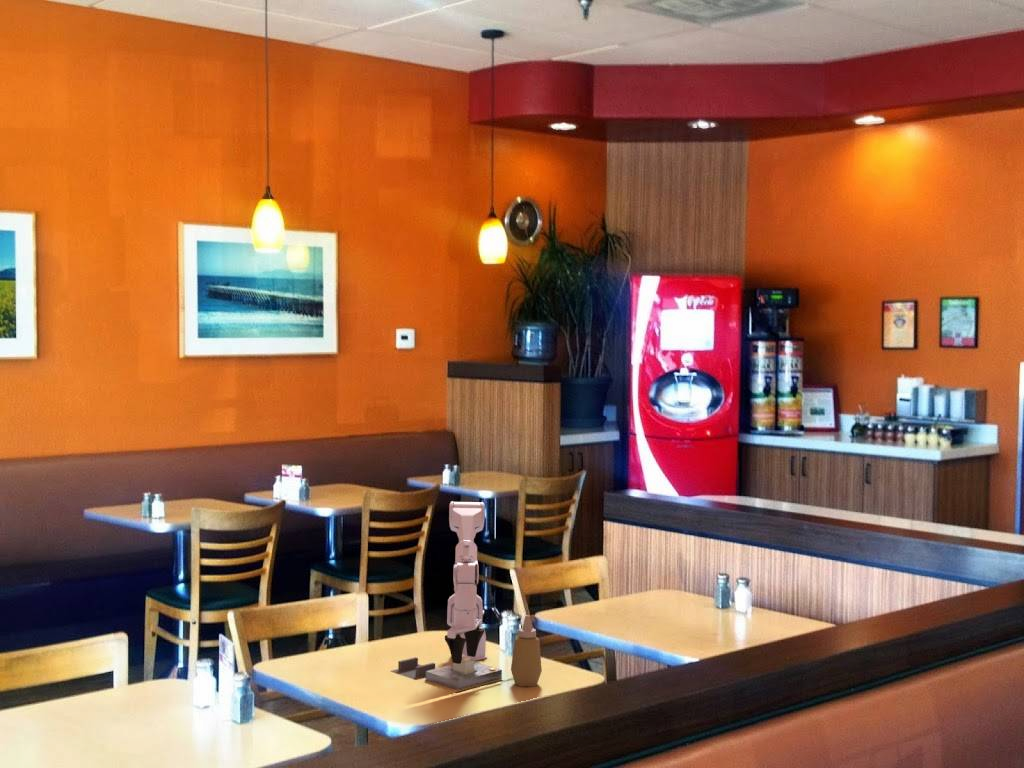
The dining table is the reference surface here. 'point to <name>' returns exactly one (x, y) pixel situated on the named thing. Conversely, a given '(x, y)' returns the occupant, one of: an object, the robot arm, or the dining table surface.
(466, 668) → the plug
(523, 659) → the squeeze bottle
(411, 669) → the dark grey holder base
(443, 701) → the dining table surface
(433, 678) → the port block
